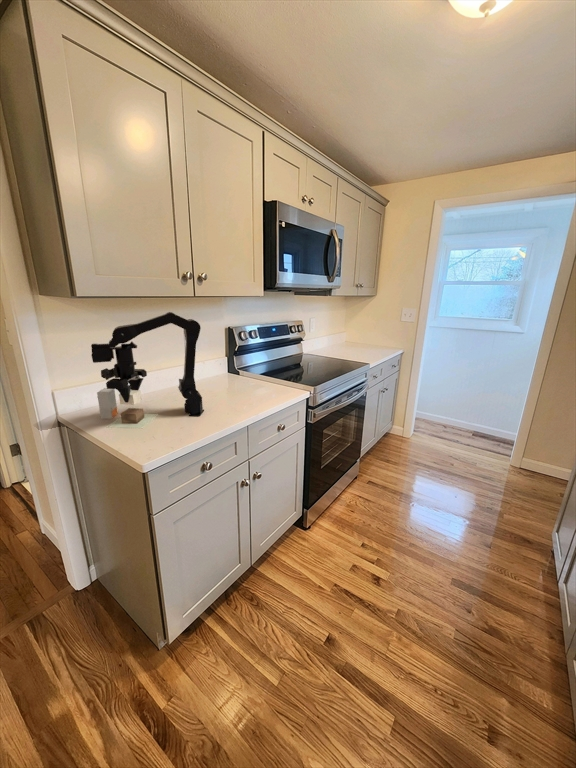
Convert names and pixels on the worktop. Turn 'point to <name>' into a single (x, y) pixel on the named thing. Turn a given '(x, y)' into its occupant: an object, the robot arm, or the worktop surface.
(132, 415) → the brick walnut
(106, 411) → the skincare box
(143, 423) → the baseplate
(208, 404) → the worktop surface
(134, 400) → the brick cream
